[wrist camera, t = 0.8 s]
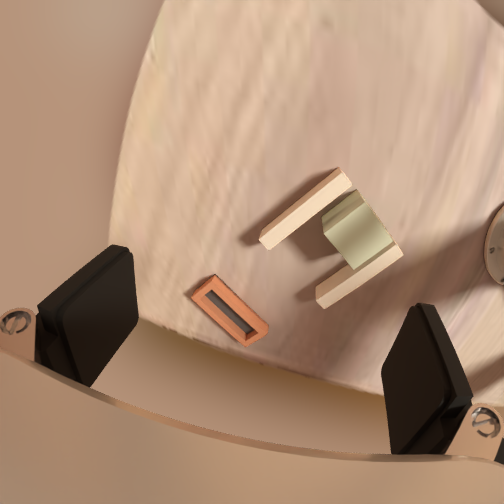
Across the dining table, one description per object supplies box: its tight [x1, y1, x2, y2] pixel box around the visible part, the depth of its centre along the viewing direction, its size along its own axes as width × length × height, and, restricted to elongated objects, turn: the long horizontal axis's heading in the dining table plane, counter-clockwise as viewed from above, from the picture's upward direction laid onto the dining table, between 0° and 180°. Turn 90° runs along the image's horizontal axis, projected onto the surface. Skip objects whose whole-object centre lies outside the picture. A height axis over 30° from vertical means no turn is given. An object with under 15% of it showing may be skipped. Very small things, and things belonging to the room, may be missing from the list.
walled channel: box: [259, 167, 403, 309], centre depth 33 cm, size 11×11×3 cm
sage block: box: [321, 190, 393, 270], centre depth 31 cm, size 5×5×5 cm
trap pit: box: [191, 274, 269, 347], centre depth 40 cm, size 10×4×2 cm, turn 43°
